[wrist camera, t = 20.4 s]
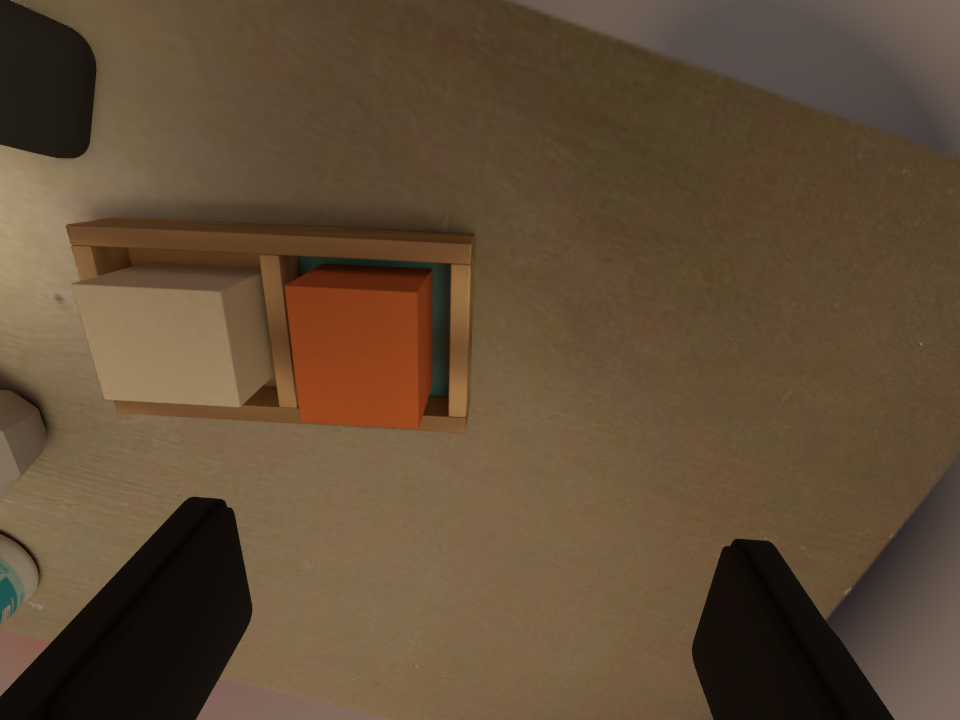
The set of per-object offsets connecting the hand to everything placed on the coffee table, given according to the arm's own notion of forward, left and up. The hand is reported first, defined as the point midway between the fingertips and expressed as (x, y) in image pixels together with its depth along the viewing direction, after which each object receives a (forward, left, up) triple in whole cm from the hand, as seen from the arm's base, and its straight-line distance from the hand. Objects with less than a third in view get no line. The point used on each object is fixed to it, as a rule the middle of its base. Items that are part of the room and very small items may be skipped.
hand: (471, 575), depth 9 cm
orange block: (+2, -6, -19) cm, 20 cm away
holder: (+2, -11, -20) cm, 23 cm away
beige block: (+2, -16, -19) cm, 25 cm away
